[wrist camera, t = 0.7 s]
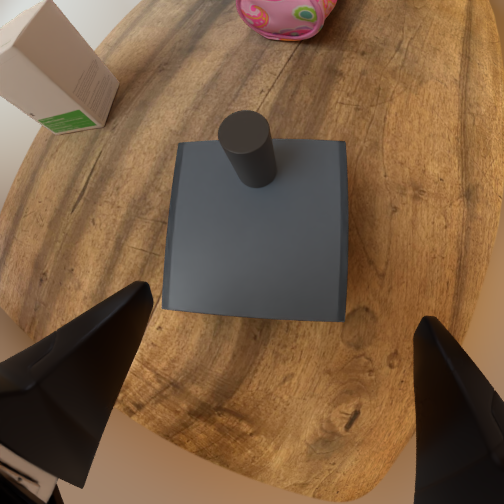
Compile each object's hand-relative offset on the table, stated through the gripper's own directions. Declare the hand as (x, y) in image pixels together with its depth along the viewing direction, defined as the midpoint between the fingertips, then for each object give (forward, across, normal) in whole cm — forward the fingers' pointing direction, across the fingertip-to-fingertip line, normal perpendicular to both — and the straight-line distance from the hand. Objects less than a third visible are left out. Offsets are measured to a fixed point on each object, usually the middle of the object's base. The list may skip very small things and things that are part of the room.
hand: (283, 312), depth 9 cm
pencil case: (+33, +1, -17) cm, 37 cm away
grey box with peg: (+5, +2, +6) cm, 8 cm away
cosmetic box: (+22, +24, -4) cm, 33 cm away
